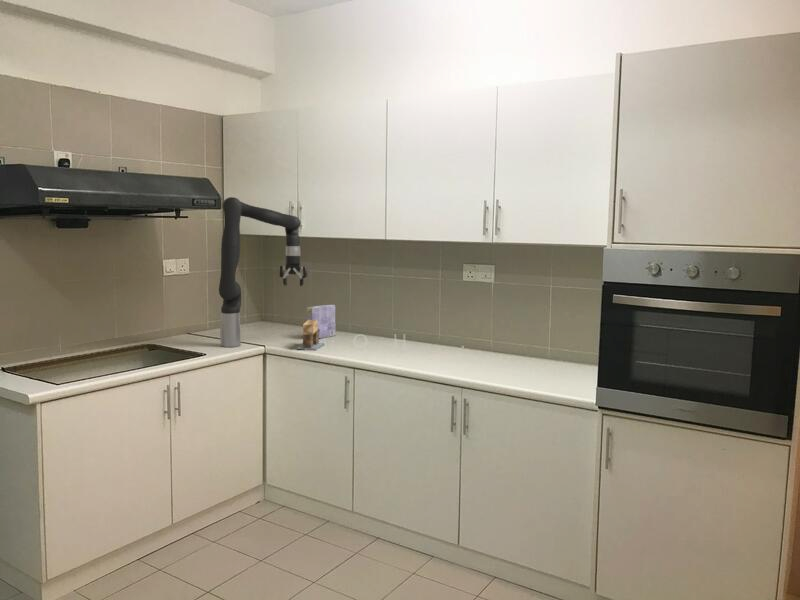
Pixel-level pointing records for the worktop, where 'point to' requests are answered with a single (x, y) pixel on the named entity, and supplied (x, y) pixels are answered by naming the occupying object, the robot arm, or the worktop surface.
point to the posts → (311, 340)
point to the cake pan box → (323, 319)
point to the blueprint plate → (312, 347)
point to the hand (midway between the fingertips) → (293, 285)
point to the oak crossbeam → (310, 327)
